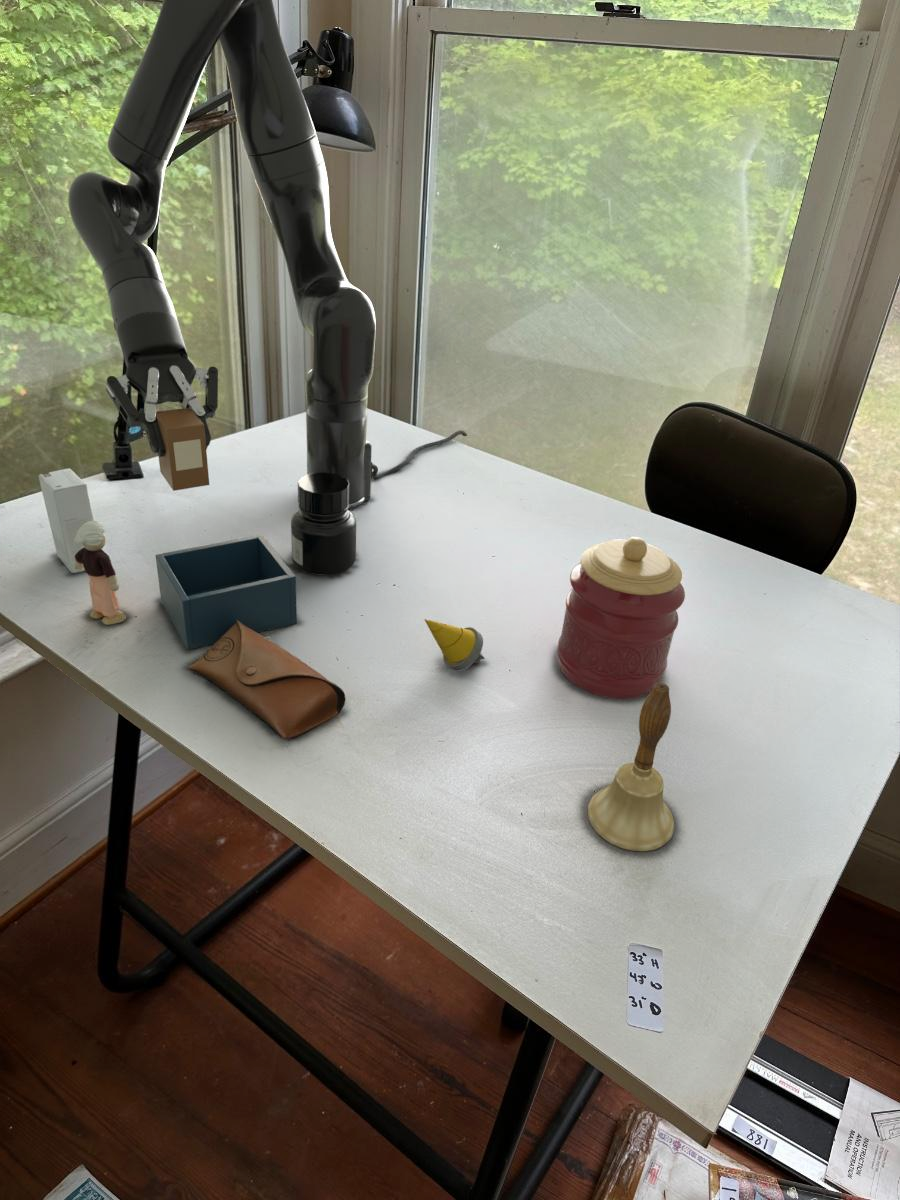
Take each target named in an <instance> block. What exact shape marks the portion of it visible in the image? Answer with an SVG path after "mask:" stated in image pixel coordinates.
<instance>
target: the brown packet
mask: <svg viewBox="0 0 900 1200" xmlns="http://www.w3.org/2000/svg"><path fill="white" fill-rule="evenodd" d="M155 420H156V422H158V424H159V428H160V431H161V435H162V438H163V441H164V445H165V449H166V453H165V456H163V457H159V456H158V463H159V471H160V473H161V475H162V477H163V478H164V479H165V481H166V482H167V484H168V485H169V487H170V489H172V491H173V492H174V491H181V490H187V489H193V488H200V487H205V486H210V476H209V475H210V474H209V466H208V455H207V450H206V442H205V431H204V424H203V423H202V422H201V420H200V419H199V418H198V417H197V416H196V415H195V413H194V412H193V411H192V410H191V409H190V408H176V409H165V410H157V411H156V419H155Z"/></svg>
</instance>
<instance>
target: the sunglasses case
mask: <svg viewBox="0 0 900 1200" xmlns="http://www.w3.org/2000/svg"><path fill="white" fill-rule="evenodd" d="M187 669H188V670H189V671H191V672H193V673H195V674H197V675H199V676H201V677H202V678H204V679H205V680H207V681H209V682H210V683H212V684H213V685H215V686H216V687H218V688H219V689H220V690H222V691H223V692H225V693H226V694H228V695H229V696H230V697H231V698H233V699H234V700H236V701H237V702H238V703H239V704H241V705H242V706H243V707H244V708H246V709H247V710H248V711H249V712H251V714H253V715H255V716H256V717H257V718H258V719H260V721H262V722H263V723H265V725H267V726H268V727H269V728H270V729H271V730H273V731H274V732H275V733H276V734H277V735H279V736H280V737H281V738H283V739H286V740H287V739H294V738H296V737H299V736H301V735H303V734H306V733H308V732H310V731H312V730H314V729H315V728H318V727H319V726H321V725H323V724H325V723H327V722H328V721H330V720H331V719H333V718H335V717H337V716H338V715H339V714H340V713H341V711H342V710H343V708H344V707H345V703H346V694H345V691H344V690H343V689H342V688H341V687H340V686H338V685H337V684H336V683H334V682H332V681H330V680H329V679H328V678H327V677H325V676H324V675H322V674H321V673H319V672H318V671H316V669H314V668H312V667H311V666H310V665H308V664H307V663H306V662H304V661H302V660H301V659H299V658H298V657H297V656H295V655H294V654H292V653H290V652H289V651H287V650H286V649H284V648H283V647H281V646H279V645H278V644H277V643H275V642H274V641H272V640H271V639H268V637H265V636H264V635H262V634H261V633H260V632H259V633H257V632H255V631H253V630H252V629H250V628H248V627H247V626H245V625H244V624H242V623H241V622H240V621H238V620H236V623H235V624H234V625H233V626H232V627H231V628H230V629H229V630H228V631H227V632H226V633H225V634H224V635H223V636H222V637H221V638H220V639H219V640H218V641H217V642H216V643H214V644H212V646H211V647H209V648H208V650H207V651H206V652H204V653H203V654H202V655H201V656H200V657H199V659H197V660H196V661H195V662H194V663H191V664H189V665H188V666H187Z"/></svg>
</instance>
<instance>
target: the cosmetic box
mask: <svg viewBox="0 0 900 1200" xmlns="http://www.w3.org/2000/svg"><path fill="white" fill-rule="evenodd" d="M38 479H39V485H40V488H41V493H42V497H43V498H42V499H43V501H44V506H45V509H46V513H47V518H48V522H49V527H50V531H51V534H52V535H51V536H52V539H53V543H54V548H55V552H56V556H57V557H58V558H59V559H60V561H61V562H62V563H63V564H64V565H65V567H66V568H67V569H68V571H69V572H70V573H71V574H76V573H82V572H85V569H84V567H83V568H82V569H77V568H76V567H75V563H76V562H75V561H76V559H75V554H76V553H77V552H78V551H79V550H81V549H82V548H84V546H83V544H78V543H76V542H75V541H74V540H75V537H76V535H77V532H78V530H79V529H80V527H81V526H82V525H84V524H85V523H87V522H90V521H94V517H93V511H92V506H91V502H90V497H89V491H88V487H87V483H86V482H85V481H83V479H81V477H80V476H79V475H78V474H76V473H75V472H74V471H73V469H71V467H69V468H63V469H59V470H55V471H54V470H53V471H49V472H44V473H40V474H38Z"/></svg>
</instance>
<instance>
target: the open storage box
mask: <svg viewBox="0 0 900 1200" xmlns="http://www.w3.org/2000/svg"><path fill="white" fill-rule="evenodd" d="M155 562H156V570H157V571H156V572H157V578H158V586H159V594H160V601H161V603H162V605H163V607H164V609H165V611H166V612H167V615H168V616H169V618H170V620H171V622H172V624H173V625H174V627H175V629H176V631H177V633H178V635H179V637H180V639H181V640H182V642H183V644H184V646H185V648H186V649H187V651H190V650H194V649H197V648H203V647H206V646H210V645H214V644H215V643H216V642H217V641H218V640H219V639H220V638H221V637H222V636H223V635H224V634H225V633H226V632H227V631H228V630H229V629H230V628H231V627H232V626H233V625H234V624H235V623H236V620H238V621H240V622H241V623H242V624H244V625H245V626H247V627H248V628H250V629H252V630H253V631H255V632H257V633H259V634H260V633H262V632H263V633H264V632H267V631H272V630H275V629H279V628H283V627H287V626H291V625H295V624H298V606H297V604H298V603H297V576H296V575H295V574H294V572H293V571H292V569H290V567H289V566H288V565H287V564H286V562H285V561H284V559H282V557H281V556H280V555H279V554H278V552H277V551H276V550H275V548H274V547H273V546H272V545H271V543H270V542H269V541H268V540H267V539H266V538H265V536H264V535H263V534H258V535H252V536H246V537H241V538H235V539H231V540H226V541H220V542H216V543H210V544H205V545H199V546H193V547H188V548H184V549H178V550H174V551H173V550H172V551H167V552H162V553H158V554H155Z"/></svg>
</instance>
